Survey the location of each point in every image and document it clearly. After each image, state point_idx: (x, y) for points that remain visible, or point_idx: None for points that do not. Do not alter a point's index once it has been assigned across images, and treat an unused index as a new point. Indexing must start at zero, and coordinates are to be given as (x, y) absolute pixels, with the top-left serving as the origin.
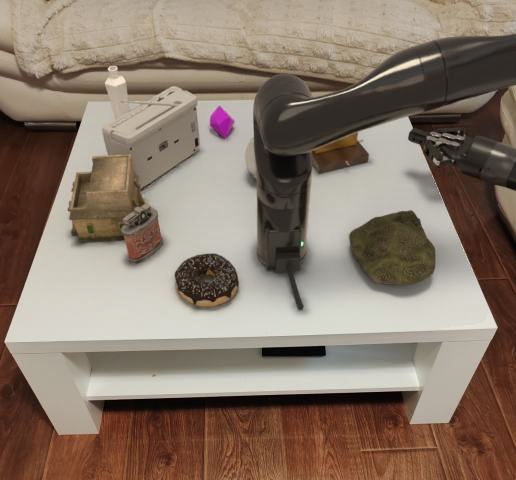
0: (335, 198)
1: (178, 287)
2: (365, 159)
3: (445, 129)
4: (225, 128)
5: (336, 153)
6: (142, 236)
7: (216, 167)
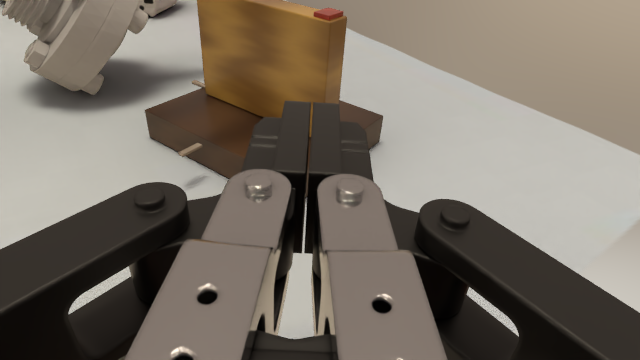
0: (6, 198)
1: None
2: None
3: (522, 259)
4: None
5: (236, 121)
6: None
7: None
